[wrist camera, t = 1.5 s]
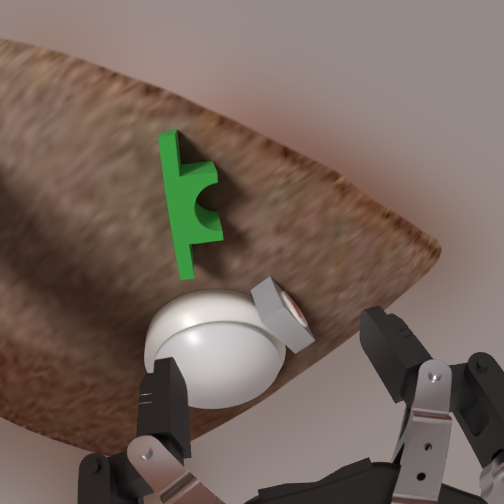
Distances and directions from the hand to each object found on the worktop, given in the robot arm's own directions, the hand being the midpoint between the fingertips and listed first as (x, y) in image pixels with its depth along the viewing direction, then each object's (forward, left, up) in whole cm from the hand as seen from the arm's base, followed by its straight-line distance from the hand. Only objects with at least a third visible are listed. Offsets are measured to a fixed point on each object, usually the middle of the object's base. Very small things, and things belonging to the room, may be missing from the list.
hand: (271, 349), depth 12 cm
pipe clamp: (-3, +2, -17) cm, 17 cm away
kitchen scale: (-3, -14, -17) cm, 22 cm away
